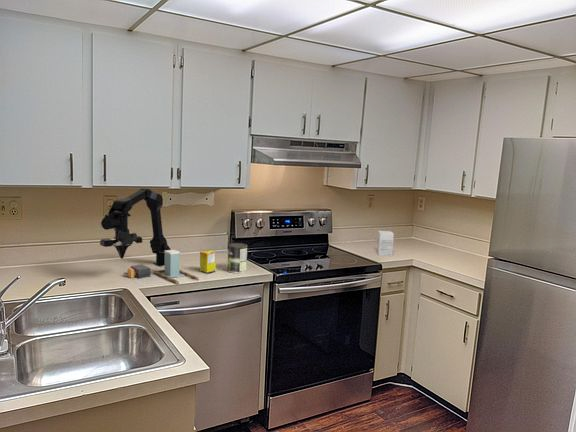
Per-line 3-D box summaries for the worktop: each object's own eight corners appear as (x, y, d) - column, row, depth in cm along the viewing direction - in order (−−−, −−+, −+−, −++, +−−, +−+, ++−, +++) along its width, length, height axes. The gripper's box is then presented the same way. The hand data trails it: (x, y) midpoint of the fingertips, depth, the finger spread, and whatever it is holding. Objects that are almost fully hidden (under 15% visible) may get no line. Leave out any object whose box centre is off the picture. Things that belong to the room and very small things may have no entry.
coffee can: (230, 273, 241) (230, 247, 239) (225, 268, 251) (225, 243, 249) (249, 272, 245) (249, 246, 243) (243, 267, 254) (244, 242, 252)
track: (153, 273, 236) (153, 271, 236) (175, 270, 244) (175, 267, 244) (176, 284, 220) (176, 281, 220) (198, 279, 228) (198, 277, 228)
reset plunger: (127, 276, 229) (127, 268, 228) (141, 274, 234) (141, 266, 233) (131, 278, 226) (131, 270, 225) (144, 275, 231) (144, 267, 230)
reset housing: (130, 274, 233) (130, 266, 232) (141, 272, 237) (141, 264, 236) (138, 278, 226) (138, 270, 225) (150, 276, 230) (150, 268, 230)
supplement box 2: (376, 252, 307) (377, 230, 305) (390, 253, 307) (391, 231, 305) (378, 255, 298) (380, 232, 296) (392, 256, 298) (394, 233, 296)
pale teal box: (164, 273, 235) (164, 250, 233) (173, 271, 239) (173, 249, 237) (170, 276, 231) (170, 253, 229) (179, 274, 234) (179, 251, 232)
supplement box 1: (208, 269, 247) (208, 249, 246) (215, 272, 244) (216, 251, 242) (199, 271, 243) (199, 251, 241) (207, 274, 239) (207, 253, 238)
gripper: (108, 231, 209) (109, 264, 211) (147, 227, 222) (147, 259, 224) (99, 227, 217) (99, 259, 219) (137, 224, 230) (137, 254, 232)
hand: (121, 258), depth 224 cm, fingers closed
